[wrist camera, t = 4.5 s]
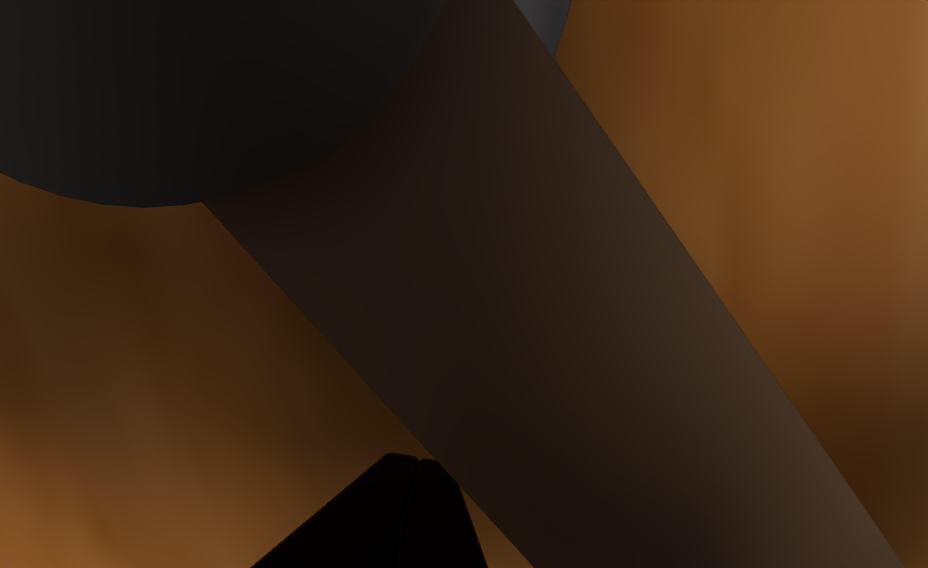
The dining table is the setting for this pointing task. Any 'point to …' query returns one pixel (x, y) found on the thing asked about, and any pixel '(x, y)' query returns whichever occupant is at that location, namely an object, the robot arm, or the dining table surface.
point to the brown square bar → (449, 259)
